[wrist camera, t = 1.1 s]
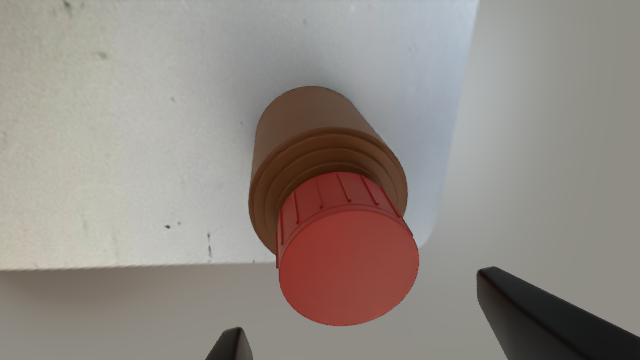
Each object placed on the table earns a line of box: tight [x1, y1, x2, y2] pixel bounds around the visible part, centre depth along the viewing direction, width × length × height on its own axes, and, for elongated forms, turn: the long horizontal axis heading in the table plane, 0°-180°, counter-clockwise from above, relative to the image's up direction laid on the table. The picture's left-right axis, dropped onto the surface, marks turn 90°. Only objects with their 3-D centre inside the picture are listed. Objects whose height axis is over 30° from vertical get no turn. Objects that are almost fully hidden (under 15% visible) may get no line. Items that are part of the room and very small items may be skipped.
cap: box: [275, 172, 419, 326], centre depth 12 cm, size 4×4×3 cm
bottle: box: [248, 86, 408, 255], centre depth 16 cm, size 6×6×11 cm
